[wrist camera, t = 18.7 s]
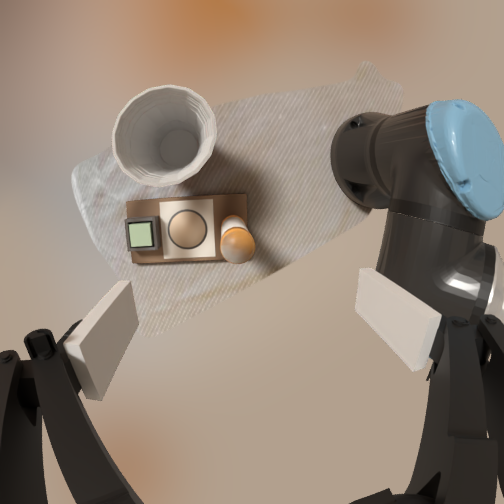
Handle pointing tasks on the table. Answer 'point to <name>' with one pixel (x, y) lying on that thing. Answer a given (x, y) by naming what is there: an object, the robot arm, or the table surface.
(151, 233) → the button
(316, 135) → the table surface
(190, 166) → the plastic cup
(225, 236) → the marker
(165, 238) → the board
